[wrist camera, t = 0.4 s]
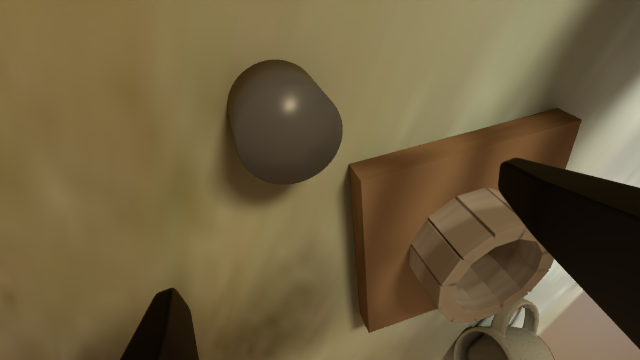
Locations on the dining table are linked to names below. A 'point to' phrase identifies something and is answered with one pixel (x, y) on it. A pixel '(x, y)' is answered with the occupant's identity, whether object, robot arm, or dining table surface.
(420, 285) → the brown board with ring
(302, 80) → the smooth gray stone
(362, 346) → the dining table surface
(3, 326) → the dining table surface
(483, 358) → the ceramic mug
